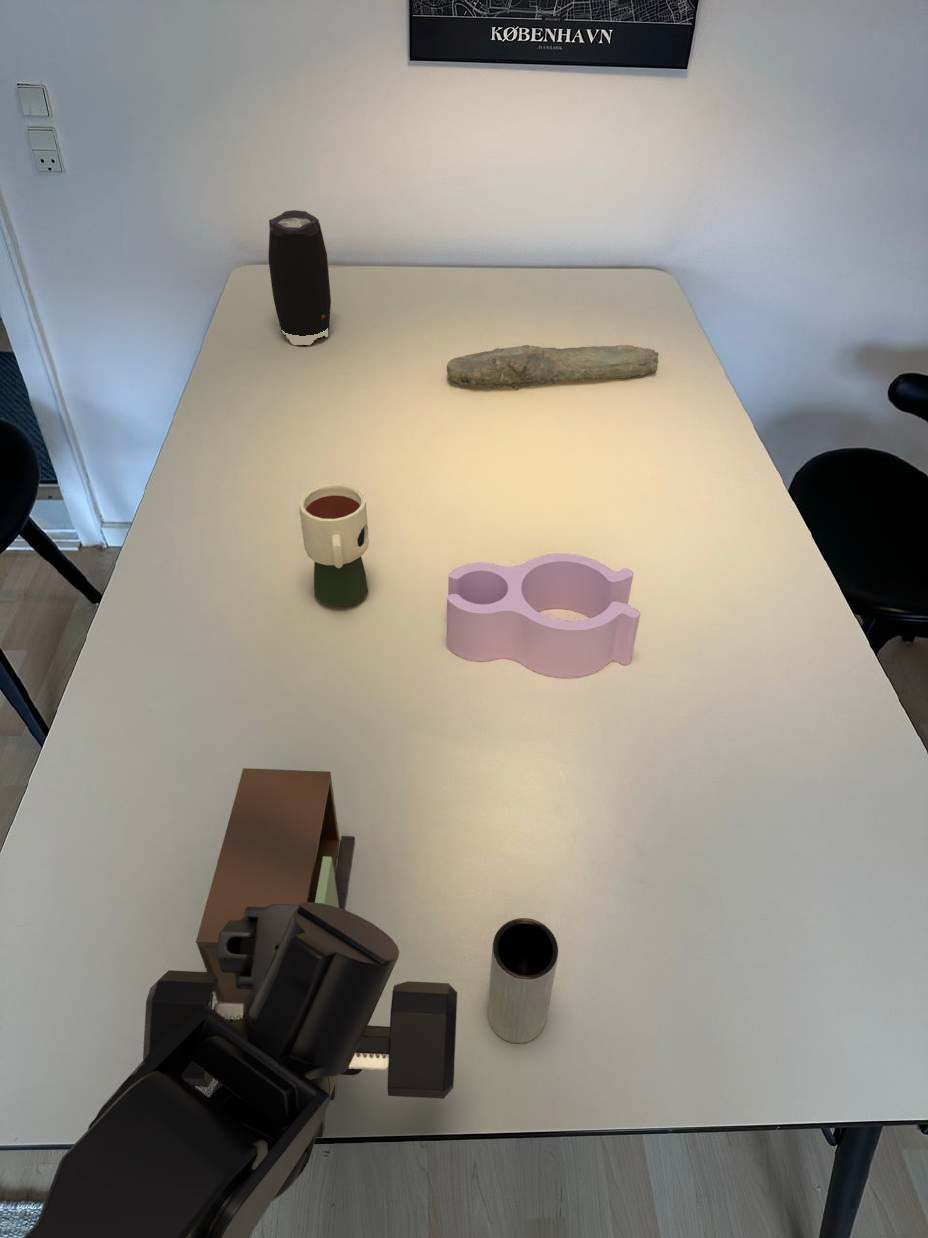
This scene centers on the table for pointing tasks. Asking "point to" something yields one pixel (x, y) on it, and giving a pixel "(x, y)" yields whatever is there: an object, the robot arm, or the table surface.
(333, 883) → the sliding door
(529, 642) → the clip
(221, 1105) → the robot arm
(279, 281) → the portable speaker
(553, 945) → the grey hollow tube
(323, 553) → the character mug
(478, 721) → the table surface
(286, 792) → the cupboard
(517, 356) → the elongated rock
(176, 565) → the table surface
